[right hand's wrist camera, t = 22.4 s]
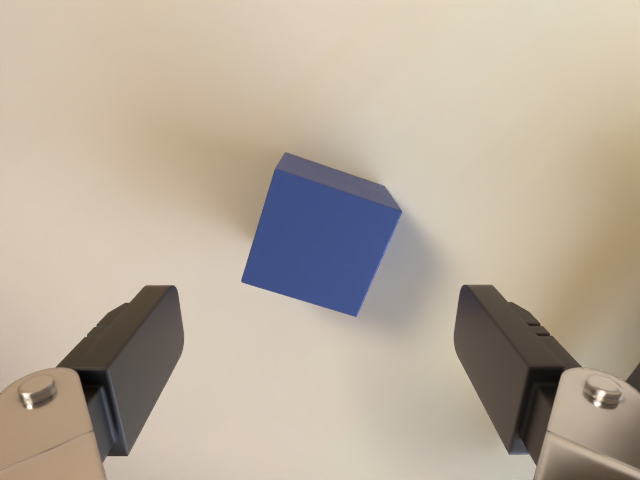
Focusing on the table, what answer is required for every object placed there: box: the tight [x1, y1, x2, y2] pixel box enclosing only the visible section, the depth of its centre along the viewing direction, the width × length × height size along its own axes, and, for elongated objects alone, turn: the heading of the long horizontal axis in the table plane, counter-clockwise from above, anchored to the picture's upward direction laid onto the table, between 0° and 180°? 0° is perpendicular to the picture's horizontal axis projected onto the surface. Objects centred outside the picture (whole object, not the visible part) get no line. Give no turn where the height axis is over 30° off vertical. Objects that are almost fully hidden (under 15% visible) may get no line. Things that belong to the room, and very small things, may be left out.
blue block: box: [241, 153, 402, 317], centre depth 18 cm, size 5×5×4 cm
